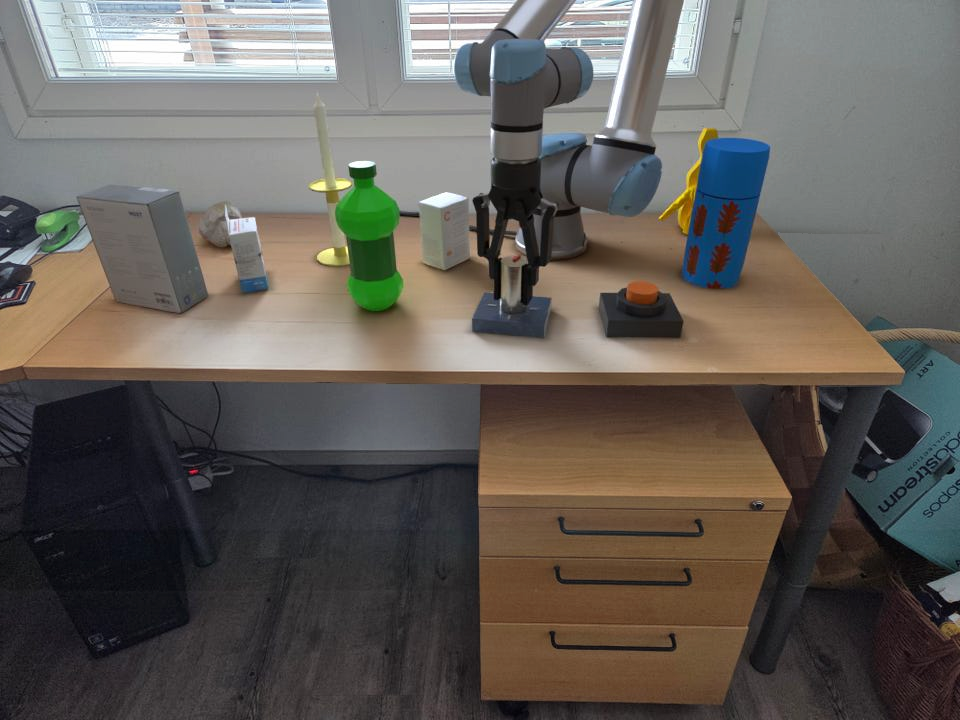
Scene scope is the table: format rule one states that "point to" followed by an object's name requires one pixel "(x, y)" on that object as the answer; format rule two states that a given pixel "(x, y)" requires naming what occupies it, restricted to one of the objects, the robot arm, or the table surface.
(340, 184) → the candle
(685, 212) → the figure statuette
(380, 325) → the table surface
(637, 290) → the button
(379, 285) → the plastic bottle
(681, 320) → the black button base
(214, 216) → the fossil replica
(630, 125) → the robot arm
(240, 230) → the ink box
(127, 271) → the hard drive box
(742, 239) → the thermos
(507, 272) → the dial knob
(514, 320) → the dial panel
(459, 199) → the small box
